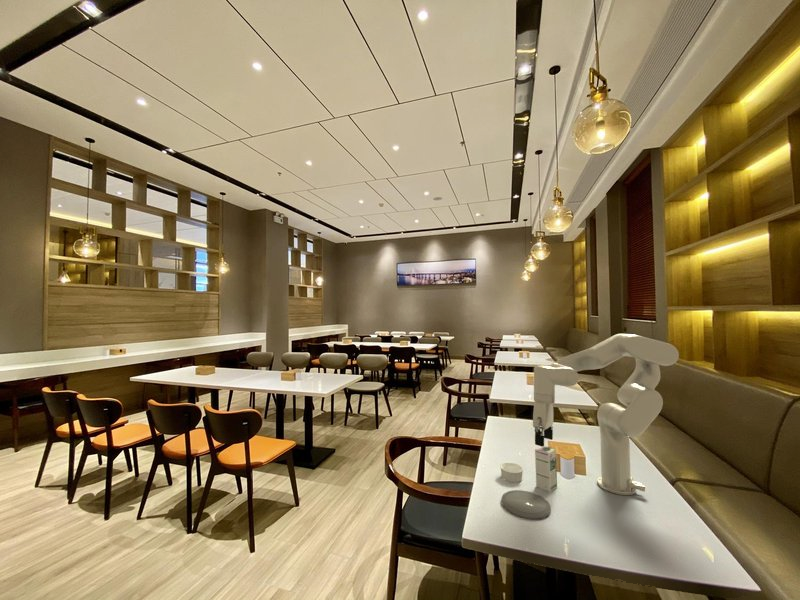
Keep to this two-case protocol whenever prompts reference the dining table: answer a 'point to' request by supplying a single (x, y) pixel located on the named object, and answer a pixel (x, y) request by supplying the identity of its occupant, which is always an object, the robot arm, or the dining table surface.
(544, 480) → the syrup box
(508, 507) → the grey plate
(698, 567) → the dining table surface
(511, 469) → the ramekin
